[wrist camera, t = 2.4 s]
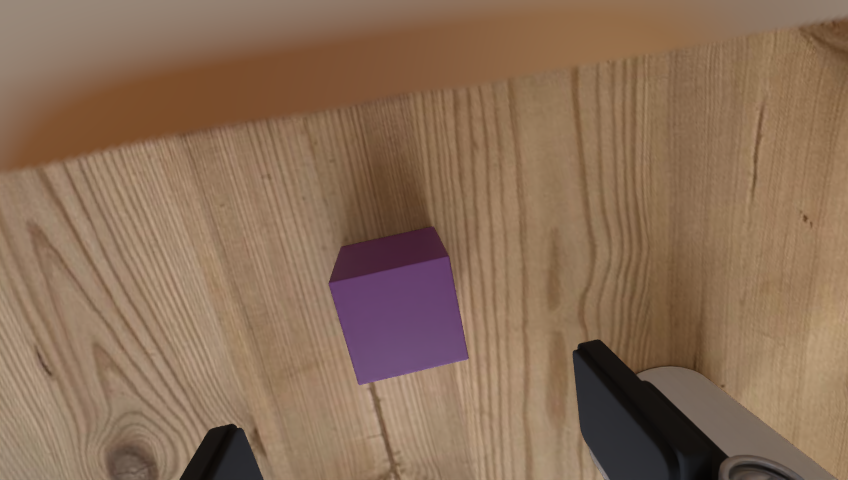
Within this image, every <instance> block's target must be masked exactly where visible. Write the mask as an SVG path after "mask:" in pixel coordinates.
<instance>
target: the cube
mask: <svg viewBox="0 0 848 480" xmlns="http://www.w3.org/2000/svg"><path fill="white" fill-rule="evenodd" d="M329 286H330V290H331V293H332V297H333V300H334V303H335V307H336V310H337V313H338V317H339V320H340V324H341V327H342V330H343V334H344V337H345V341H346V344H347V347H348V351H349V354H350V357H351V361H352V364H353V368H354V371H355V374H356V378H357V381H358V384H359V385H362V384H366V383H370V382H374V381H379V380H383V379H387V378H391V377H395V376H400V375H404V374H408V373H412V372H417V371H421V370H425V369H429V368H433V367H438V366H442V365H446V364H450V363H455V362H459V361H463V360H467V359H468V358H469V357H468V352H467V347H466V342H465V337H464V331H463V326H462V321H461V316H460V311H459V306H458V300H457V295H456V290H455V285H454V280H453V274H452V269H451V264H450V259H449V255H448V253H447V252H446V250H445V248H444V246H443V244H442V242H441V240H440V238H439V236H438V234H437V232H436V230H435V228H434V227H428V228H424V229H419V230H415V231H410V232H406V233H401V234H397V235H392V236H388V237H383V238H379V239H374V240H370V241H365V242H360V243H356V244H351V245H347V246H342V247H341V249H340V251H339V254H338V257H337V260H336V263H335V266H334V269H333V272H332V275H331V278H330V281H329Z"/></svg>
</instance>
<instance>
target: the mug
mask: <svg viewBox="0 0 848 480" xmlns="http://www.w3.org/2000/svg"><path fill="white" fill-rule="evenodd" d="M636 375H637V376H638V377H639V378H640V379H641V380H642V381H644V380H646V381H649V382H650V383H652V384H653V385H654V386H655V387H656V388H657V389H659V390H660V391H661V392H662V393H663V394H664V395H665V396H666V397H667V398H668V399H669V400H670V401H671V402H672V403H673V404H674V405H675V406H676V407H677V408H678V409H679V410H681V411H682V412H683V413H684V414H685V415H686V416H687V417H688V418H689V419H690V420H691V421H692V422H693V423H694V424H695V425H696V426H697V427H698V428H699V429H700V430H701V431H703V432H704V433H705V434H706V435H707V436H708V437H709V438H710V439H711V440H712V441H713V442H714V443H715V444H716V445H717V446H718V447H719V448H720V449H721V450H722V451H723V452H724V453H726V454H727V455H728V456H729V457H732V456H735V455H754V456H760V457H764V458H767V459H770V460H773V461H776V462H778V463H780V464H782V465H784V466H786V467H788V468H790V469H791V470H793V471H794V472H795V473H797V474H798V475H799V476H801V477H802V478H803V479H804V480H838V479H836V478H835V477H834V476H833V475H831V474H830V473H829V472H827V471H826V470H825V469H824V468H822V467H821V466H820V465H818V464H817V463H816V462H815V461H813V460H812V459H811V458H809V457H808V456H807V455H806V454H804V453H803V452H802V451H800V450H799V449H798V448H796V447H795V446H794V445H793V444H791V443H790V442H789V441H787V440H786V439H785V438H784V437H782V436H781V435H780V434H778V433H777V432H776V431H775V430H773V429H772V428H771V427H769V426H768V425H767V424H765V423H764V422H763V421H762V420H760V419H759V418H758V417H756V416H755V415H754V414H753V413H751V412H750V411H749V410H747V409H746V408H745V407H744V406H742V405H741V404H740V403H738V402H737V401H736V400H735V399H733V398H732V397H731V396H729V395H728V394H727V393H725V392H724V391H723V390H722V389H720V388H719V387H718V386H716V385H715V384H714V383H713V382H711V381H710V380H709V379H707V378H706V377H705V376H703V375H702V374H700V373H698V372H696V371H694V370H690V369H686V368H682V367H673V366H668V367H658V368H653V369H649V370H646V371H643V372H640V373H638V374H636ZM589 450H590V448H589ZM590 454H591V457H592V459H593V461H594V463H595V465H596V466H597V468H598V469H599V471H600V472H601V474H602V476H603V477H604V479H605V480H610V479H609V478H608V476H607V475H606V473H605V472H604V470H603V469H602V467H601V465H600V464H599V462H598V461H597V459H596V458H595V456H594V454H593V453H592V451H591V450H590Z"/></svg>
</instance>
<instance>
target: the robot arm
mask: <svg viewBox="0 0 848 480" xmlns="http://www.w3.org/2000/svg"><path fill="white" fill-rule="evenodd" d="M573 364H574V373H575V382H576V392H577V401H578V411H579V420H580V428H581V432H582V435H583V438H584V440H585V442H586V443H587V445H588V447H589V448H590V450H591V451H592V453H593V454H594V456H595V458H596V459H597V461H598V462H599V464H600V465H601V467H602V469H603V470H604V472H605V473H606V475H607V476H608V478H609V479H610V480H804V479H803V478H802V477H801V476H799V475H798V474H797V473H795V472H794V471H793V470H791V469H790V468H788V467H786V466H784V465H782V464H780V463H778V462H776V461H773V460H770V459H767V458H764V457H760V456H754V455H735V456H732V457H729V456H728V455H727V454H726V453H724V452H723V451H722V450H721V449H720V448H719V447H718V446H717V445H716V444H715V443H714V442H713V441H712V440H711V439H710V438H709V437H708V436H707V435H706V434H705V433H704V432H703V431H701V430H700V429H699V428H698V427H697V426H696V425H695V424H694V423H693V422H692V421H691V420H690V419H689V418H688V417H687V416H686V415H685V414H684V413H683V412H682V411H681V410H679V409H678V408H677V407H676V406H675V405H674V404H673V403H672V402H671V401H670V400H669V399H668V398H667V397H666V396H665V395H664V394H663V393H662V392H661V391H660V390H659V389H657V388H656V387H655V386H654V385H653V384H652V383H650V382H649V381H646V380H644V381H642V380H641V379H640V378H639V377H638V376H637V375H636V374H635V373H634V372H633V371H632V370H631V369H630V368H628V367H627V366H626V365H625V364H624V363H623V362H622V361H621V360H620V359H619V358H618V357H617V356H616V355H615V354H614V353H613V352H612V351H611V350H610V349H609V348H608V347H607V346H606V345H605V344H604V343H603V342H602V341H601V340H598V339H597V340H593V341H589V342H584V343H580V344H578V350H574V351H573ZM179 480H264V479H263V477H262V474H261V472H260V469H259V467H258V465H257V462H256V460H255V457H254V455H253V452H252V450H251V447H250V445H249V442H248V440H247V437H246V435H245V432H244V430H243V429H242V428H237V426H236V425H234V424H229V425H225V426H220V427H216V428H212V429H210V430H209V431H208V432H207V434H206V436H205V437H204V439H203V441H202V442H201V444H200V446H199V447H198V449H197V451H196V453H195V454H194V456H193V458H192V459H191V461H190V463H189V464H188V466H187V468H186V469H185V471H184V473H183V474H182V476H181V478H180V479H179Z"/></svg>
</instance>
